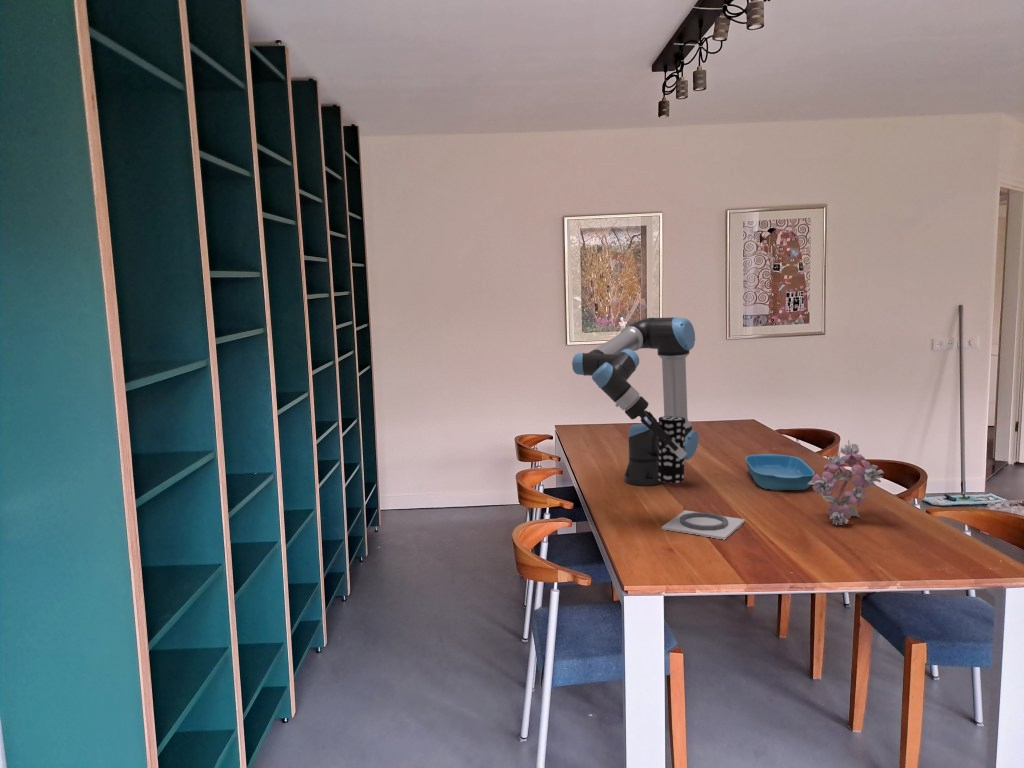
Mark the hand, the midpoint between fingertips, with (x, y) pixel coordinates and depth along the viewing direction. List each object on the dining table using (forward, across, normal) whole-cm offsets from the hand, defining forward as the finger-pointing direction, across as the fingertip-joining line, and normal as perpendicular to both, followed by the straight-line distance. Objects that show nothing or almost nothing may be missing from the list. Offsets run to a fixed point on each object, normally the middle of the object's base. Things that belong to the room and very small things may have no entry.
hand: (681, 453), depth 232 cm
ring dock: (+21, +4, -11) cm, 24 cm away
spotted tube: (+4, 0, -9) cm, 10 cm away
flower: (+52, -3, +21) cm, 56 cm away
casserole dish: (+47, -52, +15) cm, 72 cm away
